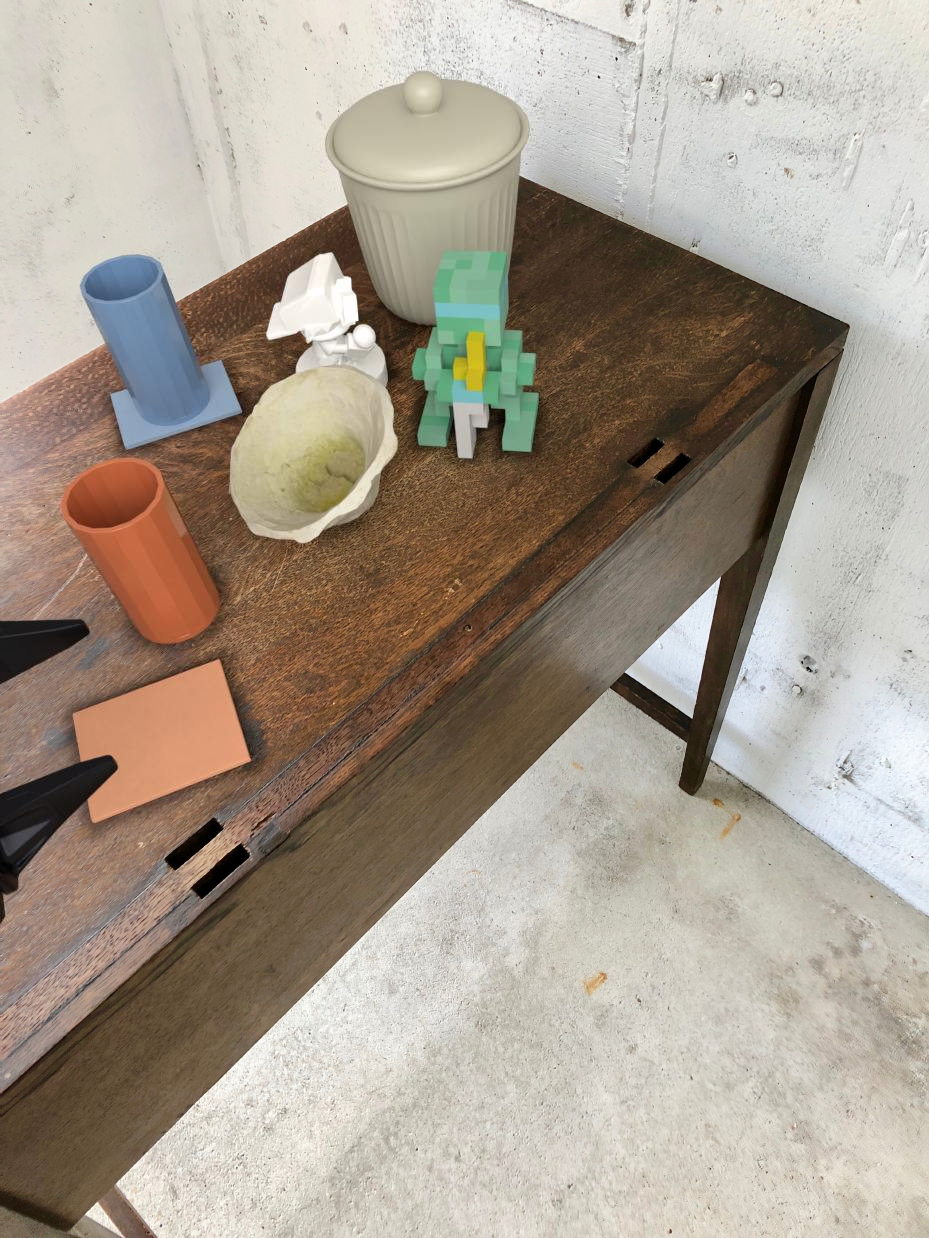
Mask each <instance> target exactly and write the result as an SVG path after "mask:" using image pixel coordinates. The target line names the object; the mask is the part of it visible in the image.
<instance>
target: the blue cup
mask: <svg viewBox="0 0 929 1238" xmlns="http://www.w3.org/2000/svg"><path fill="white" fill-rule="evenodd" d="M79 289H80V293H81V296H82V298H83V300H84V302H85V304H86V305H87V309H88V311H89V312H90V314H91V316H92V318H93V321H94V323H95V325H96V327H97V329H98V331H99V333H100V335H101V337H102V339H103V341H104V344H105V346H106V348H107V350H108V353H109V354H110V356H111V358H112V361H113V363H114V364H115V366H116V369H117V371H118V373H119V375H120V377H121V379H122V381H123V383H124V386H125V387H126V389H127V390H128V392H129V394H130V396H131V398H132V400H133V402H134V404H135V406H136V408H137V411H138V412H139V414H140V415H141V417H142V418H143V419H144V420H146V421H147V422H149V423H151V424H154V425H160V426H170V425H177V424H180V423H184V422H186V421H188V420H191V419H192V418H194V417H196V416H197V415H199V414H200V413H201V412H202V411H203V410H204V409H205V408H206V406H207V404H208V403H209V400H210V391H209V388H208V385H207V382H206V380H205V377H204V375H203V372H202V369H201V367H200V366H201V363H200V361H199V359H198V356H197V354H196V352H195V349H194V346H193V344H192V341H191V338H190V336H189V332H188V331H187V328H186V325H185V321H184V320H183V318H182V317H183V316H182V314H181V312H180V310H179V309H180V308H179V307H178V304H177V302H176V299H175V296H174V294H173V291H172V288H171V286H170V283H169V280H168V278H167V276H166V272H165V270H164V268H163V265H162V262H160V261H159V260H157V259H156V258H154V257H153V256H150V255H145V254H138V253H137V254H123V255H122V254H121V255H118V256H114V257H112V258H107V259H105V260H104V261H102V262H100V263H98V264H96V265H94V266H93V267H92V268H90V269H89V271H87V272H86V273H85V274H84V275H83V277H82V279H81V281H80V284H79Z"/></svg>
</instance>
